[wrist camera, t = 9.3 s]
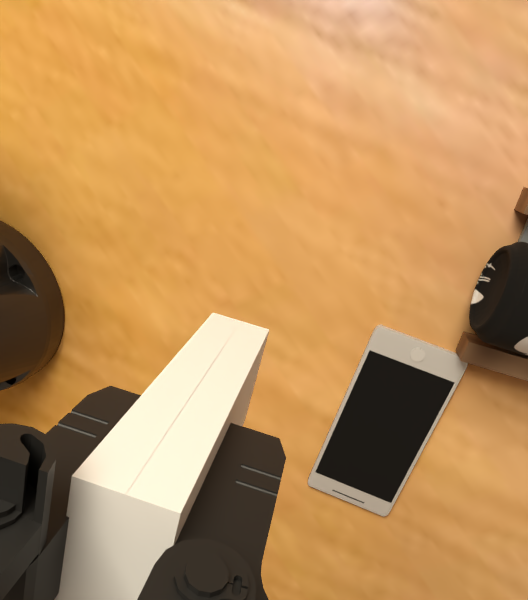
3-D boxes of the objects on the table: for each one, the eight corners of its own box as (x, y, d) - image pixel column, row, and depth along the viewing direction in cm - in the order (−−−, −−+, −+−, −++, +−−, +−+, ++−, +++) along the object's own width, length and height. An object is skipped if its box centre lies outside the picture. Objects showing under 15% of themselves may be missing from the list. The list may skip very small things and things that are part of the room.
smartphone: (468, 356, 36) (471, 361, 36) (386, 511, 42) (386, 519, 41) (376, 321, 37) (376, 325, 36) (306, 478, 42) (305, 485, 42)
